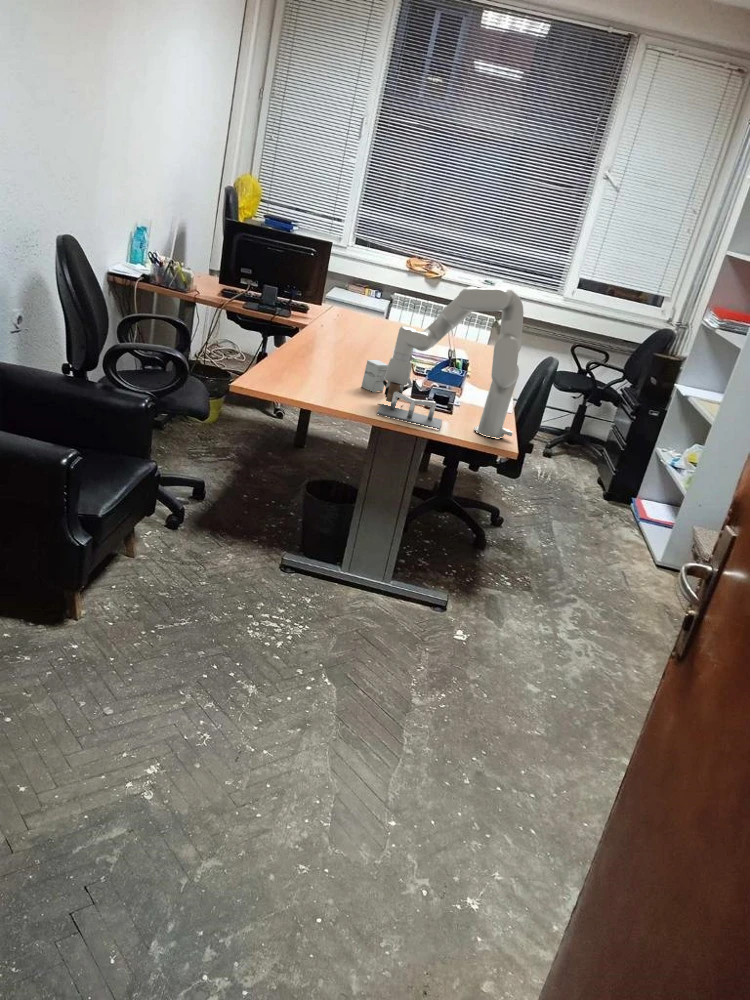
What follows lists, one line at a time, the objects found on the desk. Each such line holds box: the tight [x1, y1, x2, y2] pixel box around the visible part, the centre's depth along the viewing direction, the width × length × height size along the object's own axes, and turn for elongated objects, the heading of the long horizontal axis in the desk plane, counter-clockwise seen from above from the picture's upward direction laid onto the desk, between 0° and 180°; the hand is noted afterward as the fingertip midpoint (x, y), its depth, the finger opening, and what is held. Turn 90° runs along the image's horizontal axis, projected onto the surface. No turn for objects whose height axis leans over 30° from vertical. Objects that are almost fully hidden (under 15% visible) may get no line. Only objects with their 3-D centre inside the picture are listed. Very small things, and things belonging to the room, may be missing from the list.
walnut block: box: [385, 382, 401, 403], centre depth 321 cm, size 4×4×8 cm
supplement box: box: [361, 359, 388, 393], centre depth 336 cm, size 7×7×13 cm
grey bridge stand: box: [390, 392, 437, 420], centre depth 308 cm, size 18×7×8 cm, turn 81°
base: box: [376, 404, 443, 430], centre depth 310 cm, size 26×13×1 cm, turn 81°
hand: (392, 397), depth 322 cm, fingers closed on walnut block, 4 cm apart
